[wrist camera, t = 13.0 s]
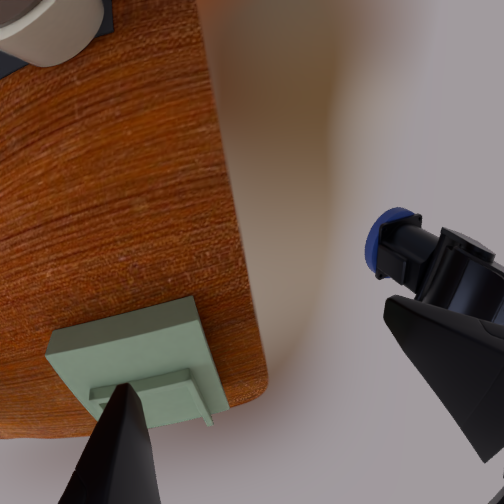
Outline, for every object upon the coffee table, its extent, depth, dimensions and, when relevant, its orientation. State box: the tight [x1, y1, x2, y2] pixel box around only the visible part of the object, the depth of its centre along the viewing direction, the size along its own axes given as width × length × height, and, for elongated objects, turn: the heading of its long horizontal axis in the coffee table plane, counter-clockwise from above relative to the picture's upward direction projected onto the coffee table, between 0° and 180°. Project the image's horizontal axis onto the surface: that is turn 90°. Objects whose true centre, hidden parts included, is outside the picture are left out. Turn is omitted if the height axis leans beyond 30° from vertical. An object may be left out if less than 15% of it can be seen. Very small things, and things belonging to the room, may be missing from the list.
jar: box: [0, 0, 104, 67], centre depth 7 cm, size 6×6×8 cm
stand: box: [45, 296, 230, 429], centre depth 20 cm, size 12×11×4 cm
